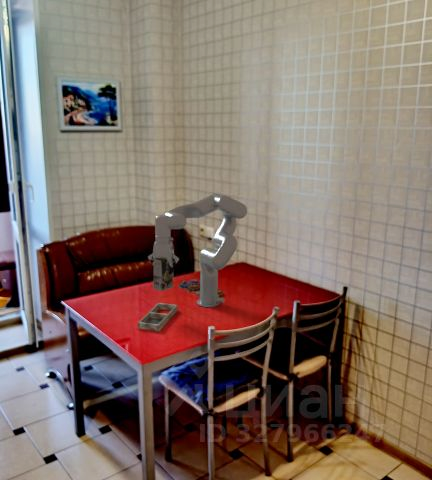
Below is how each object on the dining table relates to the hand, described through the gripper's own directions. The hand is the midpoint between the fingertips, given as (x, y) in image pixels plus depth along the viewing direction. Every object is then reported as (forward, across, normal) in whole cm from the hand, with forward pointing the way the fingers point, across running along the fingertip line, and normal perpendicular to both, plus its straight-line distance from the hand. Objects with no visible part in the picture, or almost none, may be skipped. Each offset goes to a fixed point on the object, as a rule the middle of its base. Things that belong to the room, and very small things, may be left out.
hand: (163, 272), depth 234 cm
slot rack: (+23, 0, +7) cm, 24 cm away
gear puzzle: (+24, -9, -41) cm, 48 cm away
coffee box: (+8, 0, 0) cm, 8 cm away
